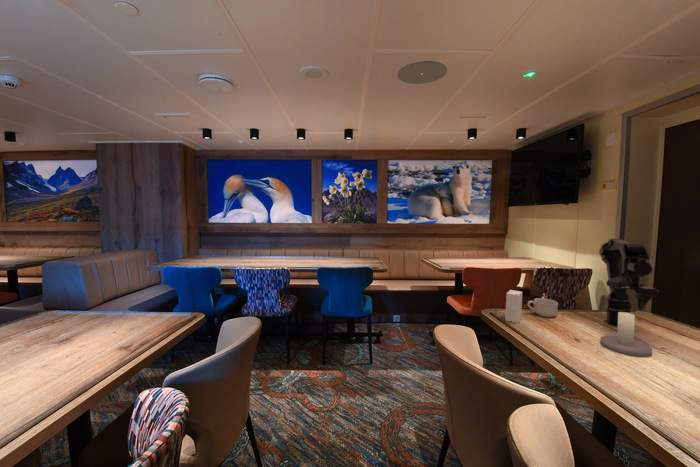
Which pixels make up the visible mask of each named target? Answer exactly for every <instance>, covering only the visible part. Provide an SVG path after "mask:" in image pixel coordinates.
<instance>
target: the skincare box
mask: <svg viewBox="0 0 700 467" xmlns="http://www.w3.org/2000/svg"><path fill="white" fill-rule="evenodd" d="M505 296H506V300H505V315H504V316H505V322H509V321H512V322H511V323H513V322H517V323H516V324H518V323H519V322H520V321H521V320H522V311H523V291H520V290H514V289H509V290H508V291H507V292H506V294H505ZM520 319H521V320H520Z"/></svg>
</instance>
